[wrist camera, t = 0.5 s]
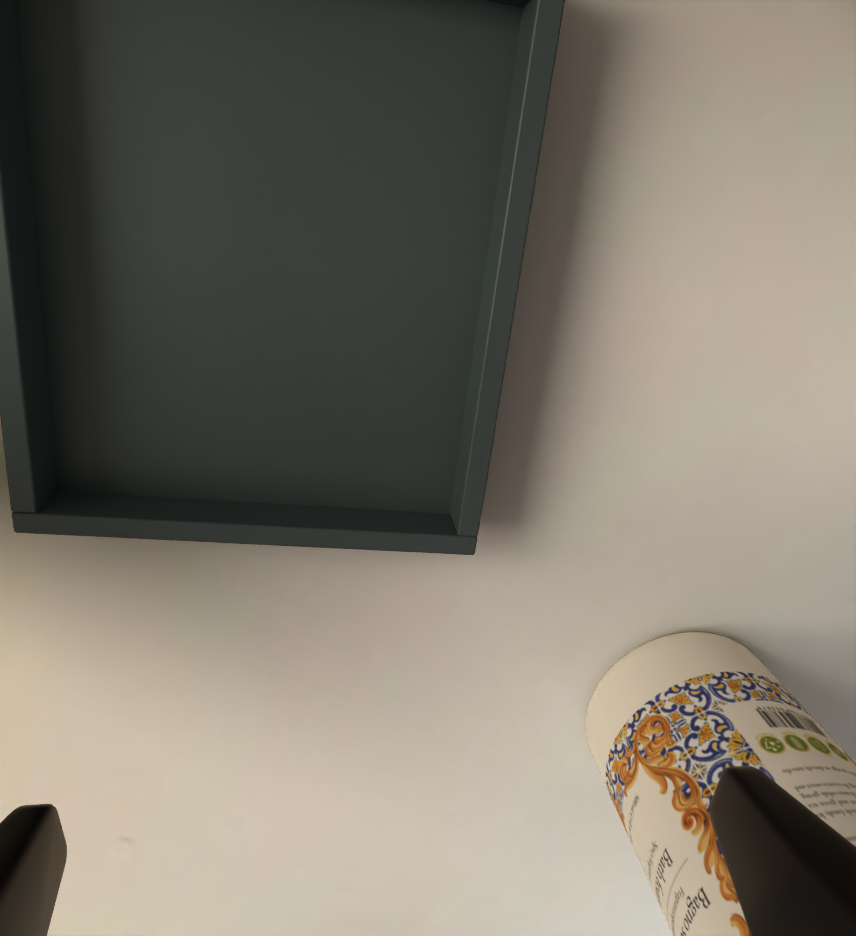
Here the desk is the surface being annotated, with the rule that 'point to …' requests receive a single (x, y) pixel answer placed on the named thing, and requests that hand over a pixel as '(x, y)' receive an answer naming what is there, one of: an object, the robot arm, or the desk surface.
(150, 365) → the tray
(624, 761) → the bath foam
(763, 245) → the desk surface
